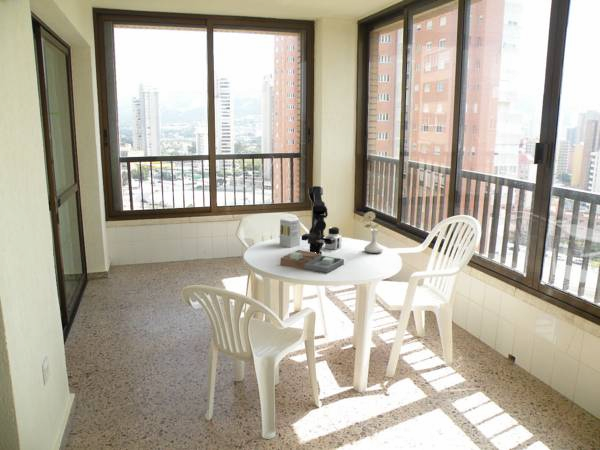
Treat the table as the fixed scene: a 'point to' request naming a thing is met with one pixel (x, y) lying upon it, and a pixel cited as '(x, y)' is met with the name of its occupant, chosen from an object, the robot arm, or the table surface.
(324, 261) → the tile
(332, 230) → the container
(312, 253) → the tan bevelled block
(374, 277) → the table surface
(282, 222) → the supplement box
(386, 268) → the table surface
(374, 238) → the flower in vase
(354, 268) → the table surface
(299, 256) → the tile
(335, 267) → the box
